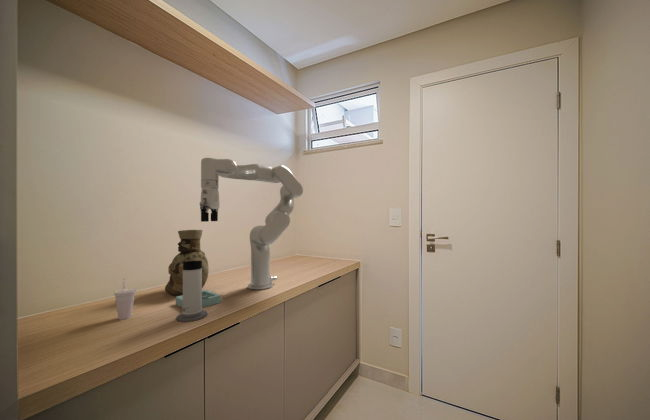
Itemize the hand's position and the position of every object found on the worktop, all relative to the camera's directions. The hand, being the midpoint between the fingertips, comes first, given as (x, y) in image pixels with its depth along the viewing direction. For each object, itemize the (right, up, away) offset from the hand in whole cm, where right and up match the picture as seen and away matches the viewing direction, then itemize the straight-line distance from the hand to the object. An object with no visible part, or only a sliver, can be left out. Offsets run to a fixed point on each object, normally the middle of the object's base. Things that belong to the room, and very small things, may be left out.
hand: (209, 221), depth 120 cm
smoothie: (-19, -34, -27) cm, 47 cm away
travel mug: (+5, -33, -26) cm, 43 cm away
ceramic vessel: (-14, -35, +7) cm, 38 cm away
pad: (+5, -34, -26) cm, 43 cm away
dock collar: (0, -34, -12) cm, 36 cm away
